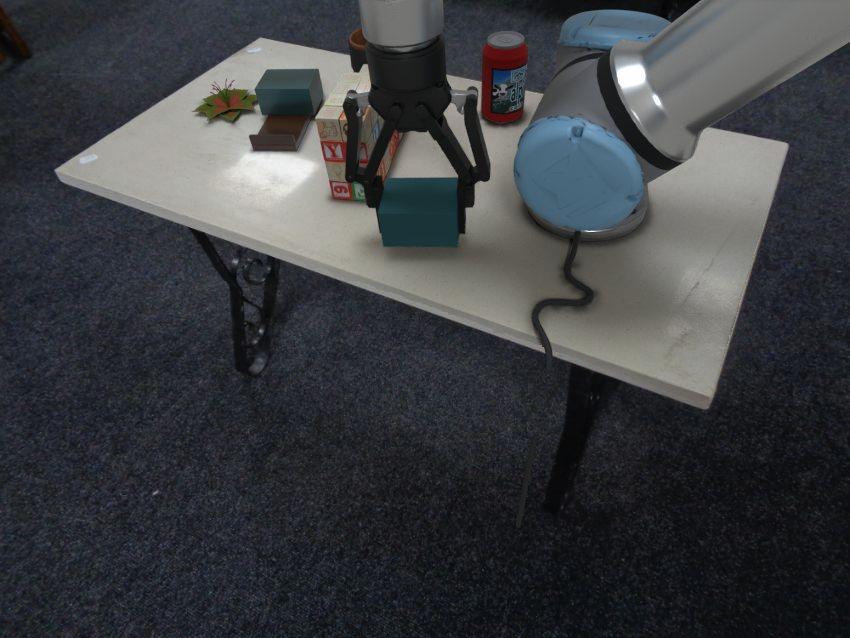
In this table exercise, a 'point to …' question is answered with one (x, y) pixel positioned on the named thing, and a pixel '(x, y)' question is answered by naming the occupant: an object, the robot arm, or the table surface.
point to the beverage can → (504, 76)
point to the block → (419, 212)
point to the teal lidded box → (286, 107)
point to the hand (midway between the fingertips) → (423, 226)
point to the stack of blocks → (335, 136)
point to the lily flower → (227, 102)
